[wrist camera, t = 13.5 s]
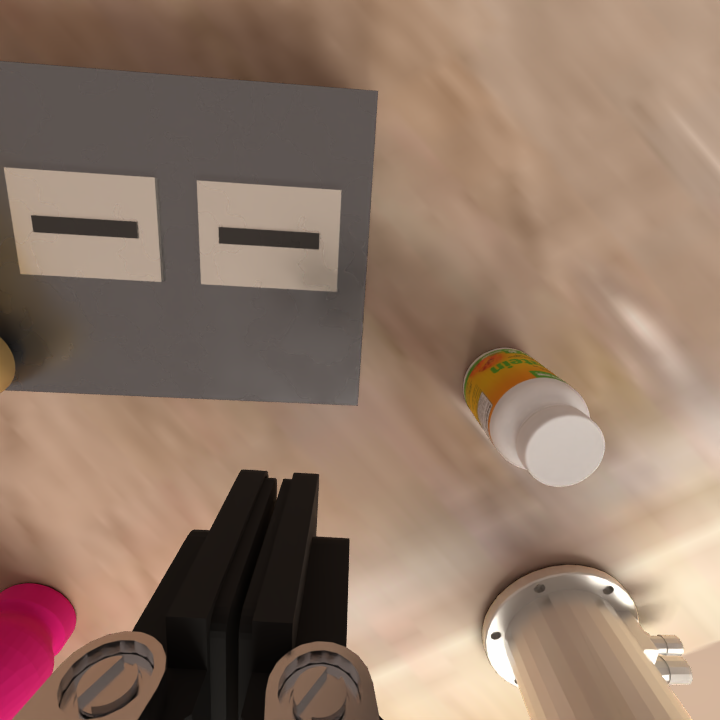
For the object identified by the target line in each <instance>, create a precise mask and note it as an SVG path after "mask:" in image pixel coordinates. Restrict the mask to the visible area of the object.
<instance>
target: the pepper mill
mask: <svg viewBox="0 0 720 720" xmlns="http://www.w3.org/2000/svg"><path fill="white" fill-rule="evenodd" d="M75 625H76V614H75V611H74V608H73V607H72V605H71V603H70V602H69V601H68V600H67V599H66V598H65V597H64V596H63V595H62V594H61V593H60V592H58V591H56V590H54V589H52V588H50V587H48V586H44V585H40V584H33V583H24V584H19V585H14V586H12V587H9V588H7V589H5V590H4V591H2V592H1V593H0V720H12V719H13V718H14V716H15V715H16V714H17V713H18V712H19V711H20V710H21V709H22V707H23V706H24V705H25V704H26V703H27V702H28V701H29V699H30V698H31V697H32V696H33V695H34V694H35V693H36V692H37V690H38V689H39V688H40V687H41V686H42V685H43V684H44V682H45V681H46V680H47V679H48V678H49V677H50V676H51V674H52V672H53V667H54V656H55V655H57V654H58V653H59V652H60V650H61V649H62V648H63V646H64V645H65V643H66V642H67V640H68V639H69V637H70V636H71V634H72V633H73V631H74V629H75Z"/></svg>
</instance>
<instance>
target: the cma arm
mask: <svg viewBox="0 0 720 720" xmlns="http://www.w3.org/2000/svg"><path fill="white" fill-rule="evenodd" d="M14 375H15V361H14V357H13V355H12V352H11V350H10V348H9V347H8V345H7V344H6V343H5V342H4V340H3V339H2V338H1V337H0V393H1V392H3V391H4V390H5V389H6V388H7V387H9V385H10V384H11V382H12V380H13V378H14Z"/></svg>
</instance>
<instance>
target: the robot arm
mask: <svg viewBox="0 0 720 720" xmlns="http://www.w3.org/2000/svg"><path fill="white" fill-rule="evenodd" d="M318 491H319V474H307V473H294V474H293V477H292V479H283V482H282V485H281V488H280V491H279V494H278V497H277V479H276V478H268V472H267V471H258V470H241V471H240V473H239V475H238V477H237V479H236V481H235V482H234V484H233V486H232V488H231V490H230V492H229V494H228V496H227V498H226V500H225V502H224V504H223V506H222V508H221V510H220V512H219V513H218V515H217V517H216V519H215V521H214V523H213V525H212V527H211V529H210V530H192V531H191V532H190V533H189V535H188V536H187V538H186V540H185V541H184V543H183V545H182V546H181V548H180V550H179V552H178V553H177V555H176V557H175V558H174V560H173V562H172V564H171V565H170V567H169V569H168V570H167V572H166V574H165V576H164V577H163V579H162V581H161V582H160V584H159V586H158V588H157V589H156V591H155V593H154V595H153V596H152V598H151V600H150V601H149V603H148V605H147V607H146V608H145V610H144V612H143V613H142V615H141V617H140V619H139V620H138V622H137V624H136V625H135V627H134V629H133V631H132V632H131V631H124V632H119V633H114V634H108V635H106V636H103V637H101V638H98V639H96V640H94V641H91V642H89V643H88V644H86V645H85V646H83V647H81V648H80V649H78V650H77V651H75V652H74V653H72V654H71V655H70V656H69V657H68V658H67V659H66V660H65V661H64V662H63V663H62V664H61V665H60V666H59V667H58V668H57V669H56V670H55V671H54V672H53V673H52V674H51V676H50V677H49V678H48V679H47V680H46V681H45V682H44V684H43V685H42V686H41V687H40V688H39V689H38V690H37V692H36V693H35V694H34V695H33V696H32V697H31V698H30V699H29V701H28V702H27V703H26V704H25V705H24V706H23V707H22V709H21V710H20V711H19V712H18V713H17V714H16V715H15V716H14V718H13V719H12V720H383V719H382V718H381V717H380V716H379V713H378V708H377V702H376V697H375V692H374V686H373V682H372V679H371V676H370V673H369V671H368V668H367V666H366V665H365V664H364V663H363V661H362V660H361V659H360V657H359V656H358V655H356V654H355V653H354V652H352V651H351V650H349V649H348V648H347V647H346V641H347V607H348V574H349V538H332V537H316V529H317V510H318ZM482 641H483V644H484V648H485V652H486V655H487V657H488V660H489V662H490V664H491V666H492V667H493V669H494V670H495V671H496V673H497V674H498V675H499V676H501V677H502V678H503V679H504V680H505V681H507V682H508V683H510V684H512V685H514V686H516V687H519V690H520V692H521V695H522V697H523V700H524V703H525V705H526V708H527V711H528V713H529V716H530V719H531V720H693V719H692V718H691V716H690V715H689V714H688V712H687V710H686V709H685V708H684V706H683V705H682V703H681V702H680V701H679V699H678V698H677V696H676V695H675V693H674V692H673V691H672V689H671V688H670V686H669V685H668V684H671V685H672V684H673V685H689V684H691V682H692V672H691V669H690V666H689V665H688V663H687V661H686V660H685V659H684V658H683V657H681V655H682V654H683V650H684V649H683V645H682V642H681V641H680V639H679V638H678V637H677V636H675V635H657V636H650V635H649V634H648V633H647V632H645V631H644V630H643V629H642V627H641V626H640V625H639V617H638V611H637V608H636V606H635V603H634V601H633V599H632V598H631V597H630V595H629V594H628V593H627V591H626V590H625V588H624V587H623V586H622V585H621V584H620V583H619V582H618V581H617V580H616V579H614V578H613V577H611V576H610V575H608V574H607V573H605V572H603V571H600V570H597V569H595V568H591V567H586V566H581V565H560V566H553V567H548V568H544V569H541V570H537V571H534V572H532V573H530V574H528V575H526V576H523V577H521V578H520V579H518V580H517V581H515V582H514V583H512V584H511V585H509V586H508V587H507V588H506V589H505V590H504V591H503V592H502V593H501V594H499V595H498V597H497V598H496V599H495V601H494V602H493V603H492V605H491V606H490V608H489V610H488V612H487V614H486V616H485V620H484V624H483V628H482ZM658 654H661V655H658Z"/></svg>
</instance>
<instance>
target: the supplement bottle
mask: <svg viewBox="0 0 720 720" xmlns="http://www.w3.org/2000/svg"><path fill="white" fill-rule="evenodd" d="M463 394H464V398H465V401H466V403H467V405H468V407H469V409H470V410H471V412H472V413H473V415H474V416H475V418H476V419H477V421H478V422H479V424H480V425H481V427H482V428H483V430H484V431H485V433H486V434H487V436H488V437H489V439H490V440H491V442H492V443H493V445H494V446H495V448H496V449H497V451H498V452H499V453H500V454H501V455H502V457H503V458H504V459H506V460H507V461H508V462H509V463H511V464H513V465H514V466H516V467H519V468H522V469H526V470H527V471H528V472H529V473H530V474H531V475H532V476H533V477H534V478H535V479H536V480H537V481H539V482H541V483H543V484H545V485H548V486H553V487H565V486H571V485H574V484H577V483H579V482H581V481H583V480H585V479H586V478H588V477H589V476H590V475H591V474H592V473H593V472H594V471H595V470H596V469H597V468H598V466H599V464H600V463H601V461H602V458H603V455H604V451H605V440H604V436H603V433H602V431H601V430H600V428H599V427H598V425H597V424H596V423H595V422H594V421H593V420H591V419H590V415H589V410H588V407H587V405H586V403H585V401H584V399H583V398H582V397H581V395H580V394H579V393H578V392H577V391H576V390H575V389H573V388H572V387H571V386H570V385H568V384H567V383H566V382H564V381H563V380H561V379H560V378H559V377H557V376H556V375H554V374H553V373H552V372H550V371H549V370H548V369H546V368H545V367H544V366H542V365H541V364H540V363H538V362H537V361H536V360H534V359H533V358H532V357H530V356H529V355H527V354H526V353H524V352H522V351H520V350H517V349H513V348H497V349H493V350H490V351H488V352H486V353H484V354H482V355H481V356H479V357H478V358H477V359H476V360H475V361H474V362H473V363H472V364H471V365H470V367H469V368H468V370H467V372H466V374H465V377H464V382H463Z"/></svg>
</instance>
